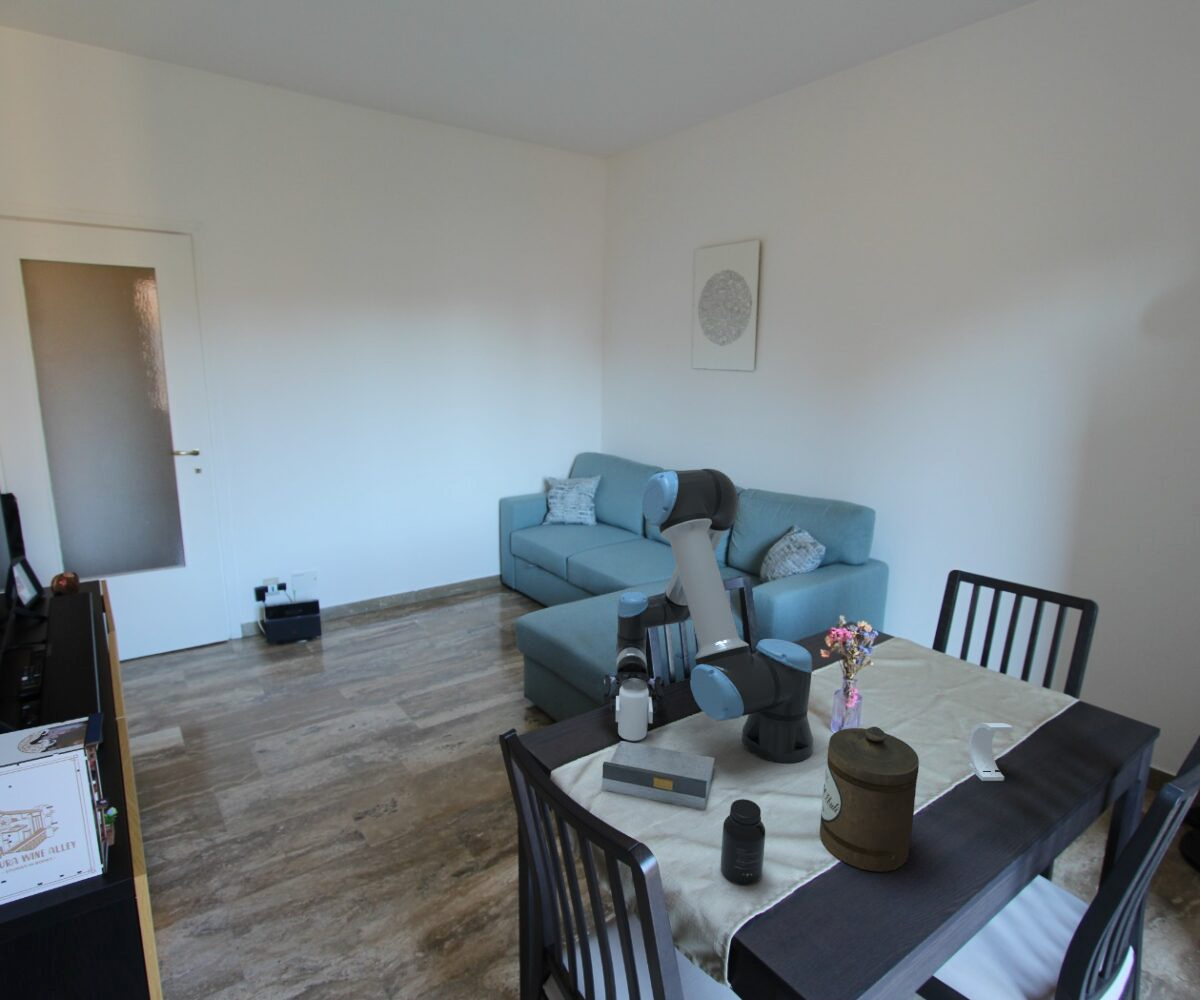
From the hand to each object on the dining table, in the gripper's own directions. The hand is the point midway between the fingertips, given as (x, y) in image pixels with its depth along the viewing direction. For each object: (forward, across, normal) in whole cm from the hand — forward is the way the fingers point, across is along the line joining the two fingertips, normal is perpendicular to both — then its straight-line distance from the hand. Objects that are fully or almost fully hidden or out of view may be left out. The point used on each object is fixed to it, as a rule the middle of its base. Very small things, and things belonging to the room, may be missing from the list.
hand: (634, 716), depth 150 cm
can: (-5, 0, -7) cm, 9 cm away
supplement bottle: (+36, -17, -8) cm, 40 cm away
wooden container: (+27, -40, -8) cm, 49 cm away
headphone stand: (+4, -73, -8) cm, 74 cm away
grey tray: (+11, -5, -7) cm, 14 cm away
